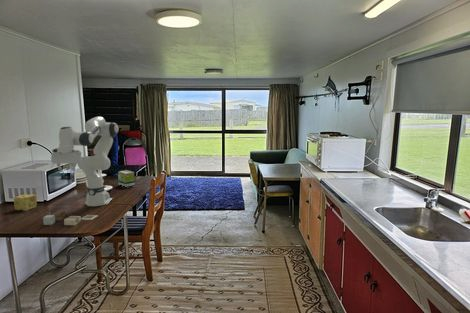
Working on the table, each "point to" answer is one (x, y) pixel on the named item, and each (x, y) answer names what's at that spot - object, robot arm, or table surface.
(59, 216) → the walnut cube
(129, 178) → the tea box
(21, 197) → the cheese
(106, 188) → the candlestick
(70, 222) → the oak base block
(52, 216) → the grey cube
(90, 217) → the swatch
